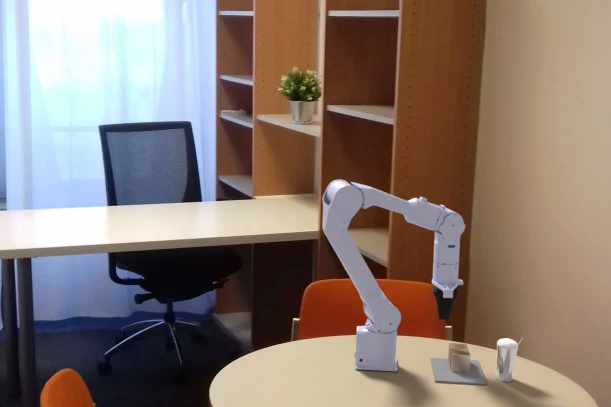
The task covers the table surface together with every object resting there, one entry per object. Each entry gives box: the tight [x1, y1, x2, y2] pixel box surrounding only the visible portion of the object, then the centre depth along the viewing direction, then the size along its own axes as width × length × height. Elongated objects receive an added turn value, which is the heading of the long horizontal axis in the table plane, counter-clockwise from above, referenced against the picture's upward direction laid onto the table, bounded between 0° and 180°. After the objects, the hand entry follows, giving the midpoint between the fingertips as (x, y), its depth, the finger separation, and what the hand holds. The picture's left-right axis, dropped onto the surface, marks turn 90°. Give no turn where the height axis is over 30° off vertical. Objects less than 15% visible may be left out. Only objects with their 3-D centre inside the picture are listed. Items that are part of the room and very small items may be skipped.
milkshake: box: [496, 336, 523, 383], centre depth 161 cm, size 5×5×10 cm
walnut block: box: [447, 342, 471, 372], centre depth 167 cm, size 4×4×7 cm
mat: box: [430, 357, 488, 386], centre depth 165 cm, size 11×13×1 cm
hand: (443, 318), depth 169 cm, fingers closed
